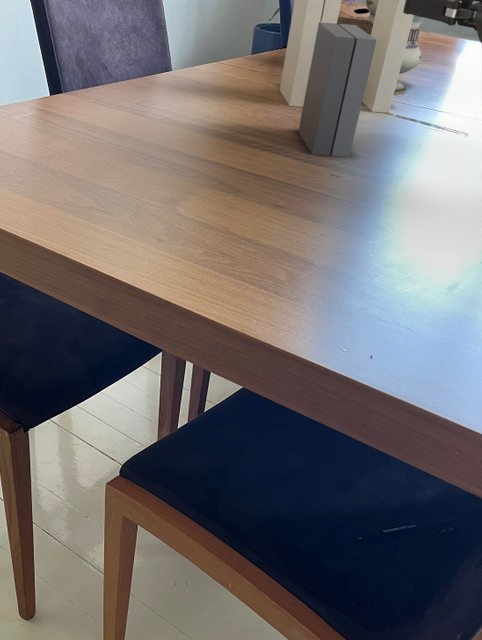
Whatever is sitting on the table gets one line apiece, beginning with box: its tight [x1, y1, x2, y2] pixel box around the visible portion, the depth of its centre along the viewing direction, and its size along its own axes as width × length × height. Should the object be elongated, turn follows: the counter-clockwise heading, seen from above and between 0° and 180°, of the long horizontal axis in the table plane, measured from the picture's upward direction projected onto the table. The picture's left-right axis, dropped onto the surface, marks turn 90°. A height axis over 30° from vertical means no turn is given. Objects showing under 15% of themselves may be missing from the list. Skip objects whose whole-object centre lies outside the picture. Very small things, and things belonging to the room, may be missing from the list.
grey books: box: [297, 22, 377, 157], centre depth 100 cm, size 5×11×15 cm, turn 0°
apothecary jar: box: [365, 0, 424, 95], centre depth 134 cm, size 12×12×18 cm
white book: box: [362, 0, 414, 114], centre depth 123 cm, size 3×11×17 cm, turn 0°
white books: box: [279, 0, 342, 108], centre depth 123 cm, size 5×11×17 cm, turn 0°
